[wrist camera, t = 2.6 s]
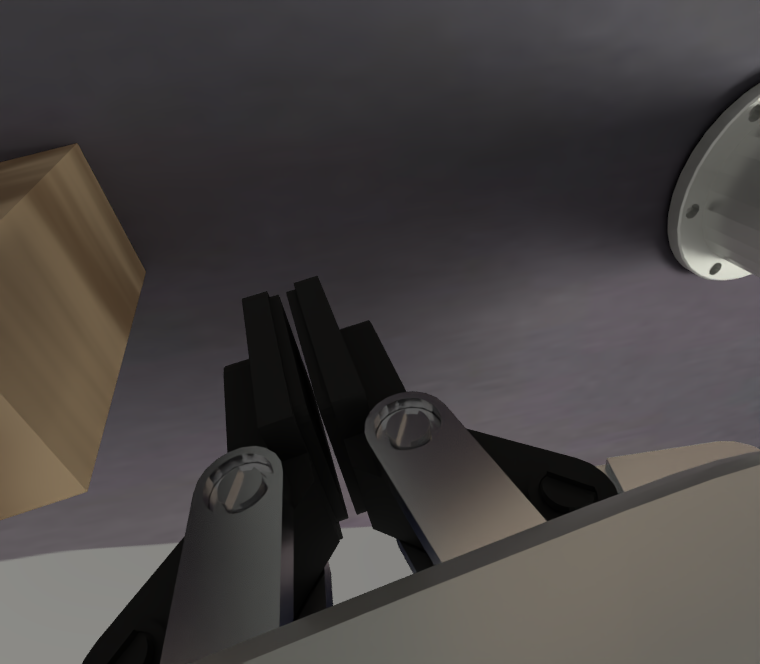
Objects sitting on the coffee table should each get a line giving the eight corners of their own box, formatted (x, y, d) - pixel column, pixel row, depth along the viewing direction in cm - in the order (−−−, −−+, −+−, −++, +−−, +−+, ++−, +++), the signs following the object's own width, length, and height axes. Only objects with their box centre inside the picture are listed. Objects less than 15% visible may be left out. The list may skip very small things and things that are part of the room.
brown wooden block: (77, 143, 20) (-82, 301, 9) (145, 271, 23) (87, 491, 13) (-54, 175, 19) (-378, 383, 9) (37, 302, 23) (-117, 558, 12)
